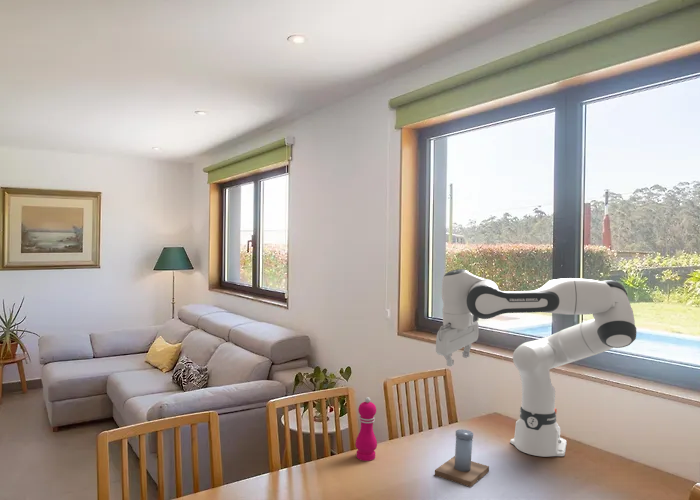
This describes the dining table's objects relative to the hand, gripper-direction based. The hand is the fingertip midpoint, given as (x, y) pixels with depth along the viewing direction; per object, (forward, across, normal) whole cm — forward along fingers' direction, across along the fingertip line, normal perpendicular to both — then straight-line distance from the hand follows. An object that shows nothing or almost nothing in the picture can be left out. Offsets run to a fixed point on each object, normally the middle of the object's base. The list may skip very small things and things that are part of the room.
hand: (458, 361), depth 168 cm
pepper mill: (+32, -22, +23) cm, 45 cm away
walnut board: (+33, -8, -5) cm, 35 cm away
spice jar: (+31, -8, -5) cm, 33 cm away
